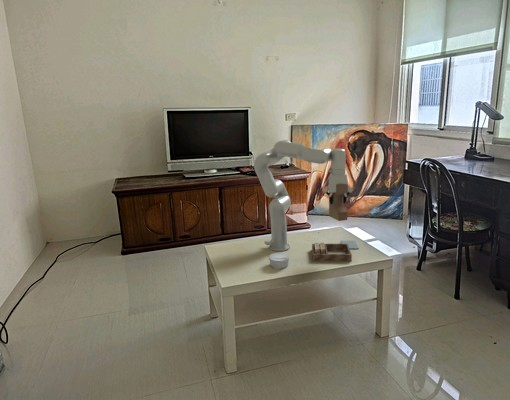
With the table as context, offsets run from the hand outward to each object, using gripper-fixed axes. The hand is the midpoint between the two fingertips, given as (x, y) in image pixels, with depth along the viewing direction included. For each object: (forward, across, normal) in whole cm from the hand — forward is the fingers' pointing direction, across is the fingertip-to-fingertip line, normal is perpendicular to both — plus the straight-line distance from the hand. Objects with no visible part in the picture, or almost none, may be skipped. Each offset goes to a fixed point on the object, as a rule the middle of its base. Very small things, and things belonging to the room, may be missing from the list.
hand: (337, 203), depth 200 cm
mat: (+31, +9, +16) cm, 36 cm away
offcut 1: (+31, -11, 0) cm, 33 cm away
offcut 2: (+31, -8, 0) cm, 32 cm away
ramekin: (+32, -33, -14) cm, 48 cm away
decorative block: (+9, 0, 0) cm, 9 cm away
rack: (+31, -3, 0) cm, 31 cm away
